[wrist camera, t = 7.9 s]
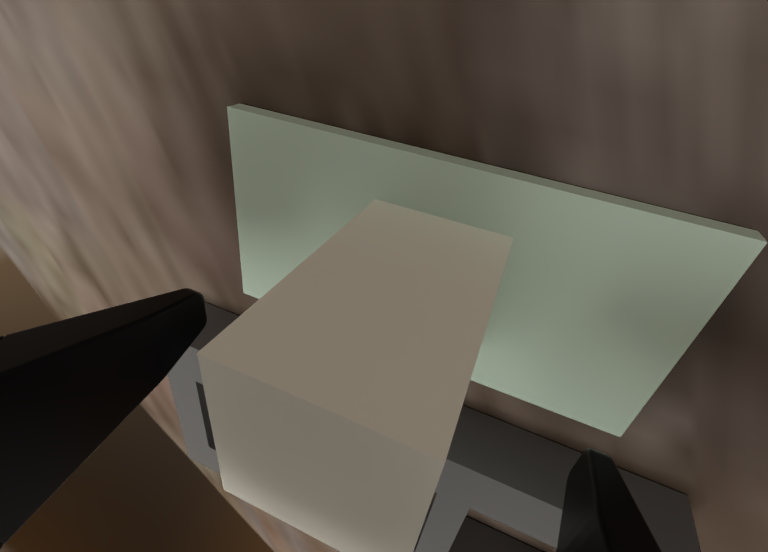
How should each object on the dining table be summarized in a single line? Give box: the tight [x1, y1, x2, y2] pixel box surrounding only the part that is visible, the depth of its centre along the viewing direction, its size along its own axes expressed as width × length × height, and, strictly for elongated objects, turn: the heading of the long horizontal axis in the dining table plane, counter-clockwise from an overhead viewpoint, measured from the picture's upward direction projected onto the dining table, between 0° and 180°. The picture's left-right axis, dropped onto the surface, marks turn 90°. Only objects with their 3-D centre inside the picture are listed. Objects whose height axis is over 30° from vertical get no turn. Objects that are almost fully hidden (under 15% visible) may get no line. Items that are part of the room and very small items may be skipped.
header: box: [168, 302, 701, 552], centre depth 18 cm, size 20×9×2 cm, turn 82°
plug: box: [197, 199, 513, 552], centre depth 10 cm, size 4×4×7 cm
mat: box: [227, 104, 767, 437], centre depth 13 cm, size 14×7×1 cm, turn 82°
